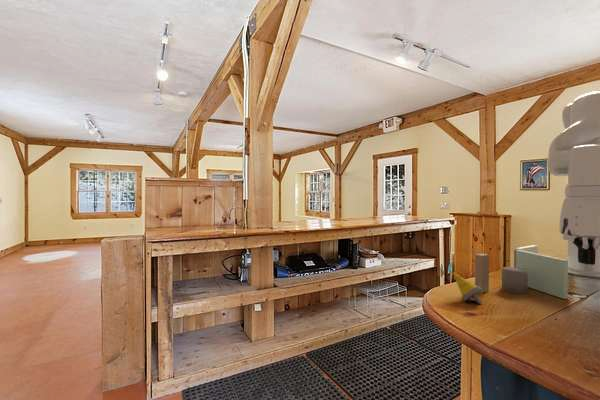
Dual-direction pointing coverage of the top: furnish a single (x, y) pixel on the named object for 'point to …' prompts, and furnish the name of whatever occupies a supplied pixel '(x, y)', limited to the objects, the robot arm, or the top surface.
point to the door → (544, 272)
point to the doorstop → (515, 280)
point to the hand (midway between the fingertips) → (586, 263)
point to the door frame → (483, 267)
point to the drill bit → (467, 288)
